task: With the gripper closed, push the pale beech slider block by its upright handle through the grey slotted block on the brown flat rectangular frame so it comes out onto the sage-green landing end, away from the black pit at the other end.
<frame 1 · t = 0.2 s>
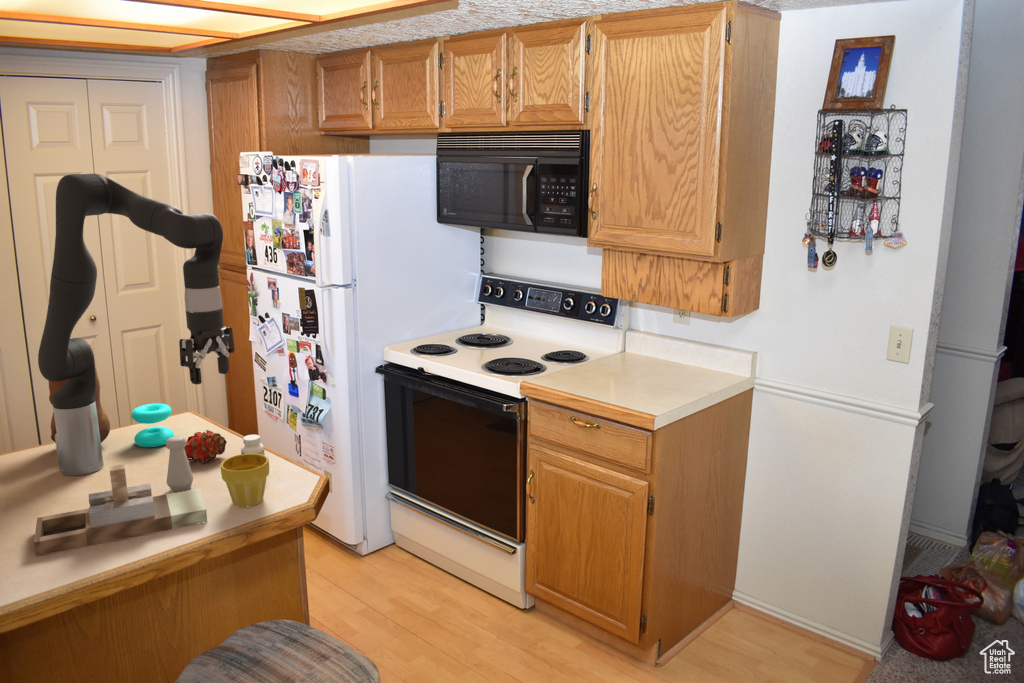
hand: (210, 378, 174), 29 cm above the table, tool pointing down, fingers open, 8 cm apart
plant pot: (248, 502, 180), on the table
salt shaker: (181, 490, 186), on the table
supplement bottle: (254, 475, 195), on the table
butternut squash: (83, 449, 211), on the table
donuts: (155, 442, 216), on the table
grey slotted block: (121, 505, 166), on the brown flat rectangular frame, point 5 cm above the table
slider block: (122, 513, 167), point 3 cm above the table, touching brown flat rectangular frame
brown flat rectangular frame: (124, 526, 168), on the table
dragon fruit: (204, 461, 203), on the table
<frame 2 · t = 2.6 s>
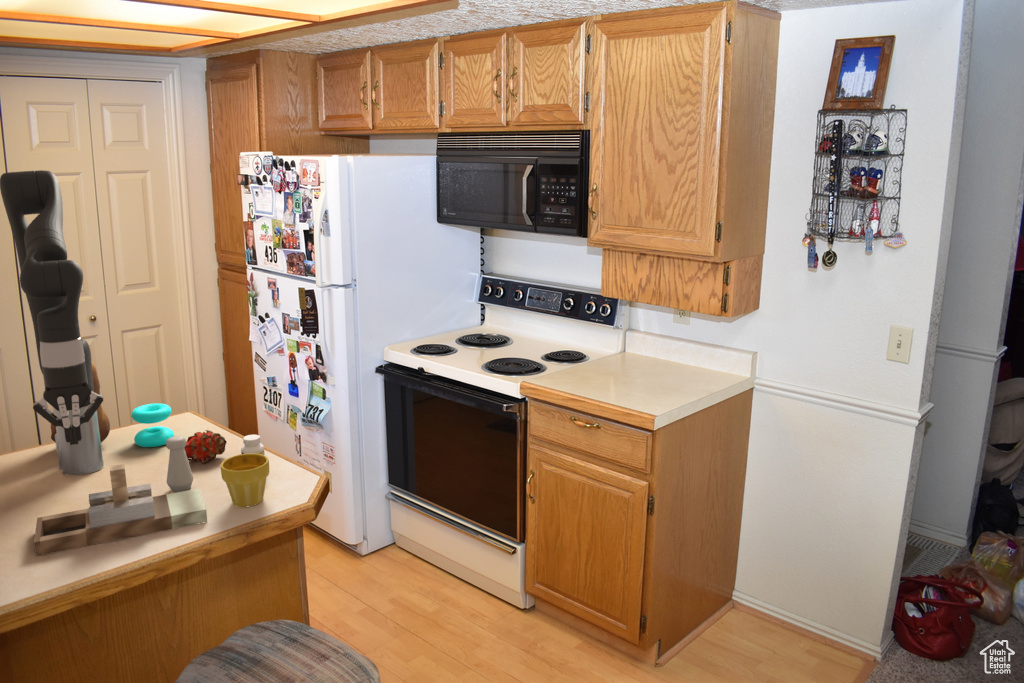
hand: (74, 443, 160), 20 cm above the table, tool pointing down, fingers closed
nothing on the table moved.
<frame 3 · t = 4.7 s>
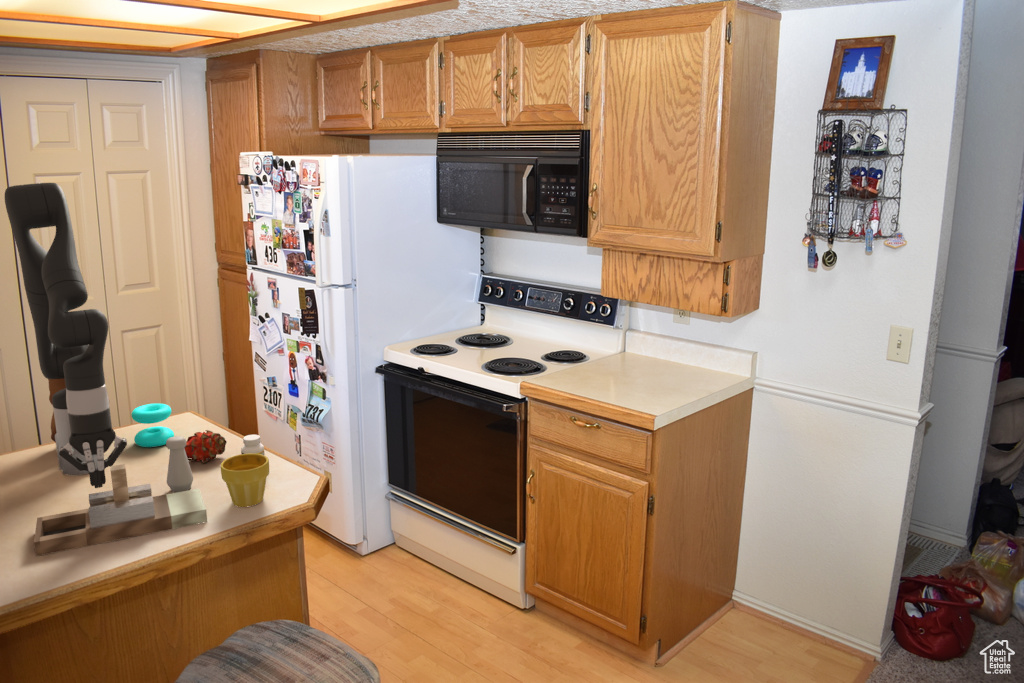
hand: (98, 486, 163), 10 cm above the table, tool pointing down, fingers closed
slider block: (123, 513, 167), point 3 cm above the table, touching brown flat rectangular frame, gripper
everything else where it was.
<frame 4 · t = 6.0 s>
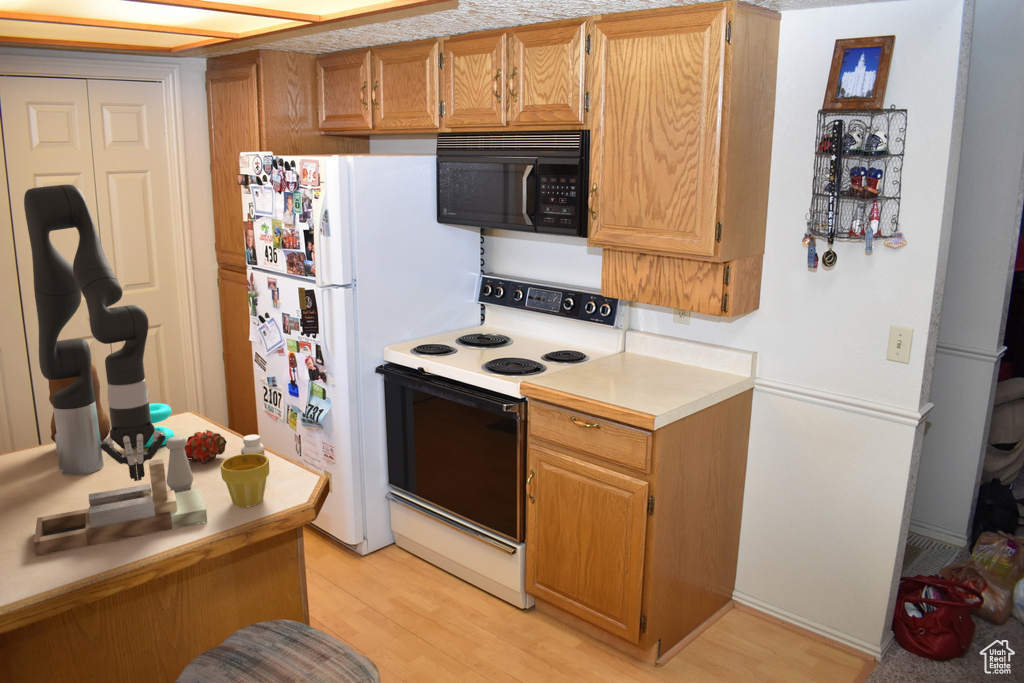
hand: (137, 479, 167), 10 cm above the table, tool pointing down, fingers closed
slider block: (161, 507, 170), point 3 cm above the table, touching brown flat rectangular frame
everything else where it was.
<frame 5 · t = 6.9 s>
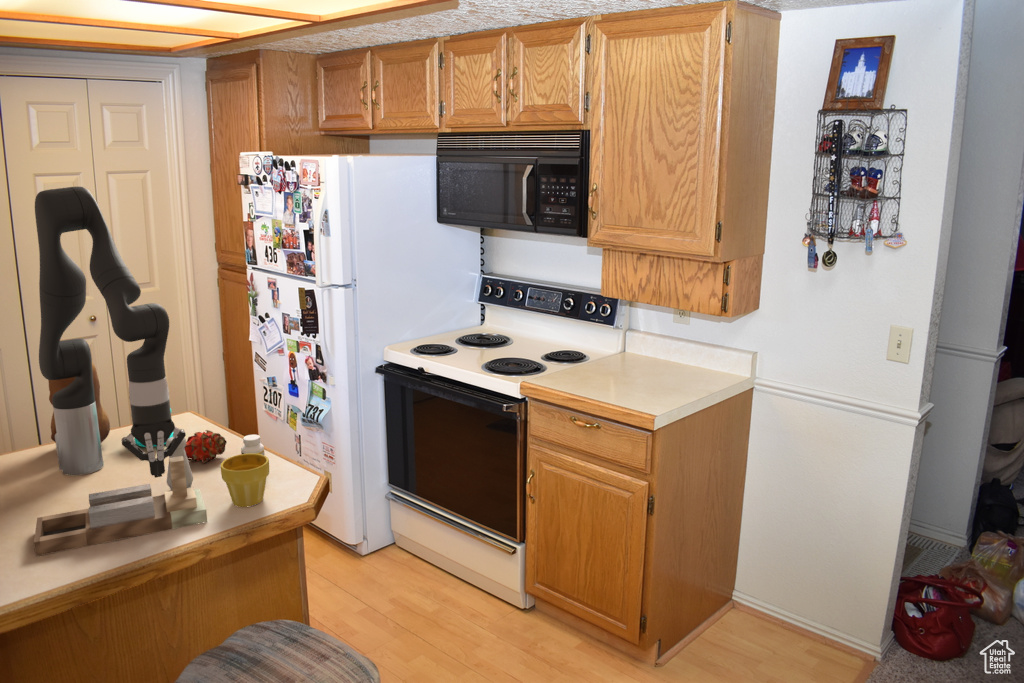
hand: (158, 475, 168), 10 cm above the table, tool pointing down, fingers closed
slider block: (181, 504, 171), point 3 cm above the table, touching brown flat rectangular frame, gripper
everything else where it was.
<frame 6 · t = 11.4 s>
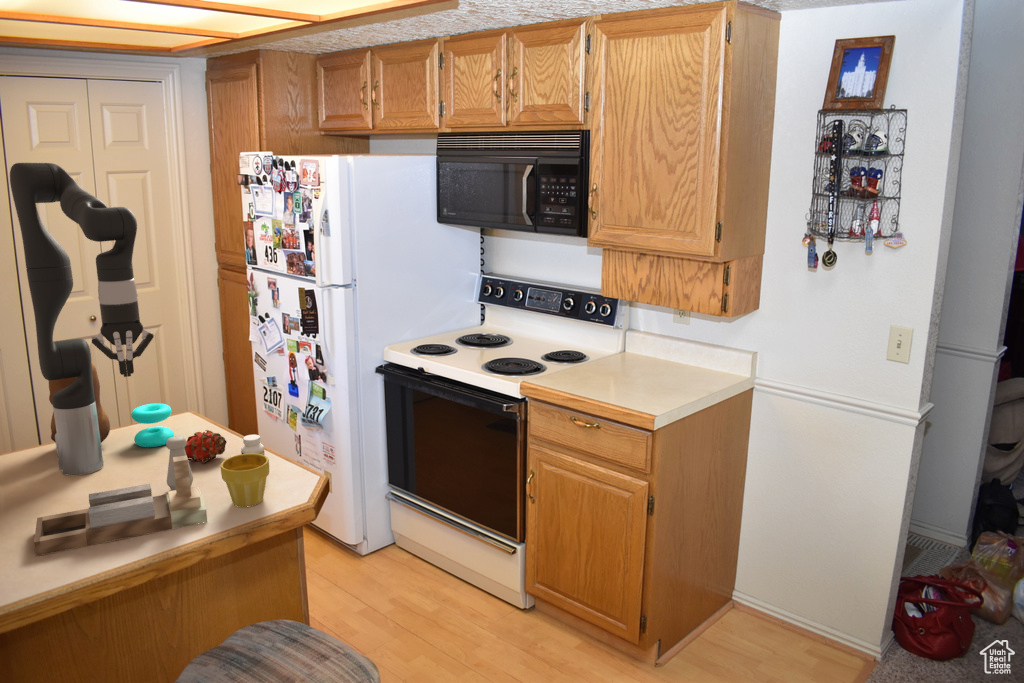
hand: (127, 375, 176), 29 cm above the table, tool pointing down, fingers closed
slider block: (184, 503, 172), point 3 cm above the table, touching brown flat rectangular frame
everything else where it was.
at the end: slider block 0.8 cm from the target spot on the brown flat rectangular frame, point 3.0 cm above the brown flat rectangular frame's base; slider block tilted 0° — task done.
